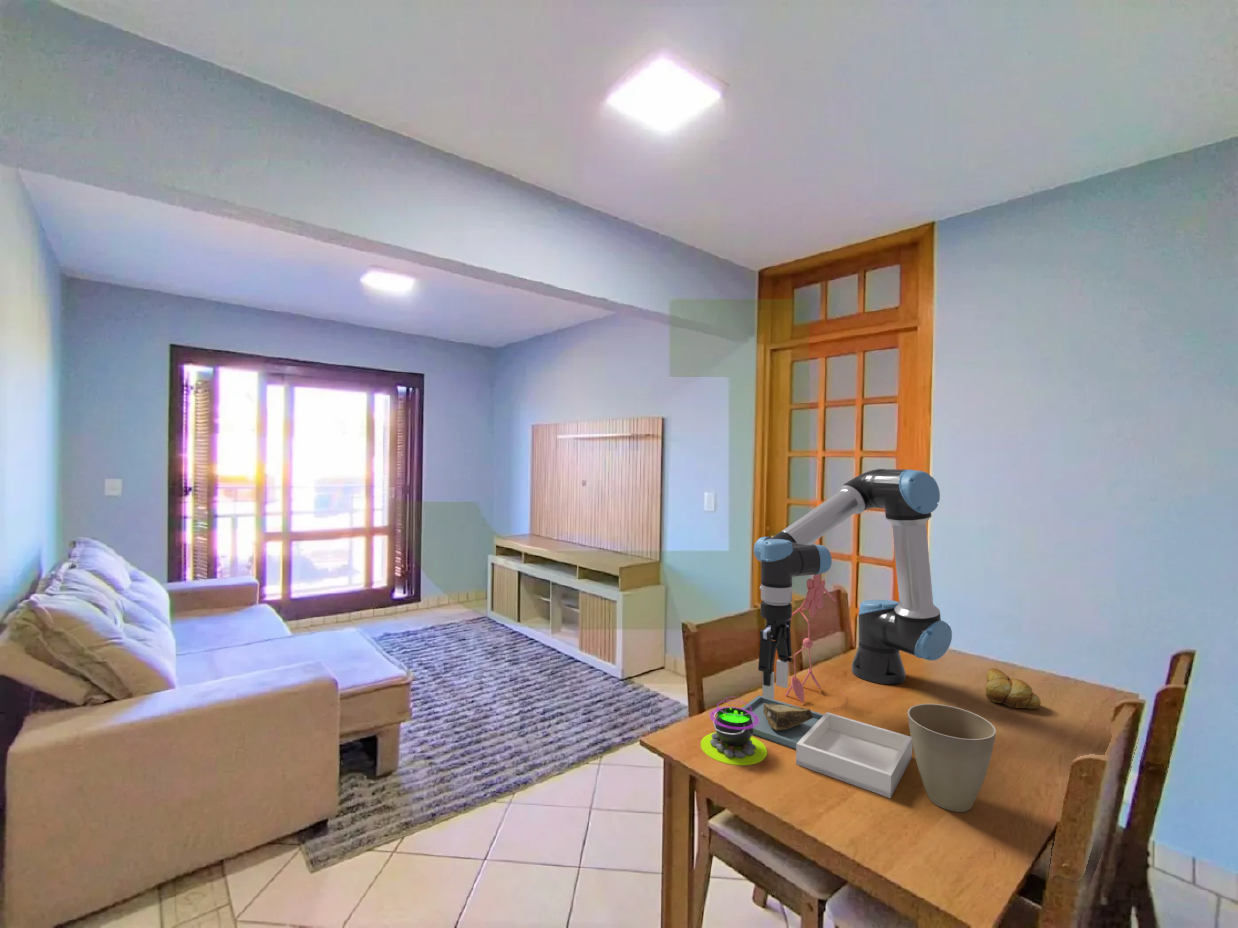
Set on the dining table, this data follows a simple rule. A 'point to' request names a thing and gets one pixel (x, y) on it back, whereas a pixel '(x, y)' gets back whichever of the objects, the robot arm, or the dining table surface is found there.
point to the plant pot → (951, 753)
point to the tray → (765, 731)
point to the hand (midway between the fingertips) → (775, 691)
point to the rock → (785, 716)
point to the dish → (855, 753)
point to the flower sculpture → (811, 603)
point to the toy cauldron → (733, 737)
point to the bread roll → (1010, 691)
